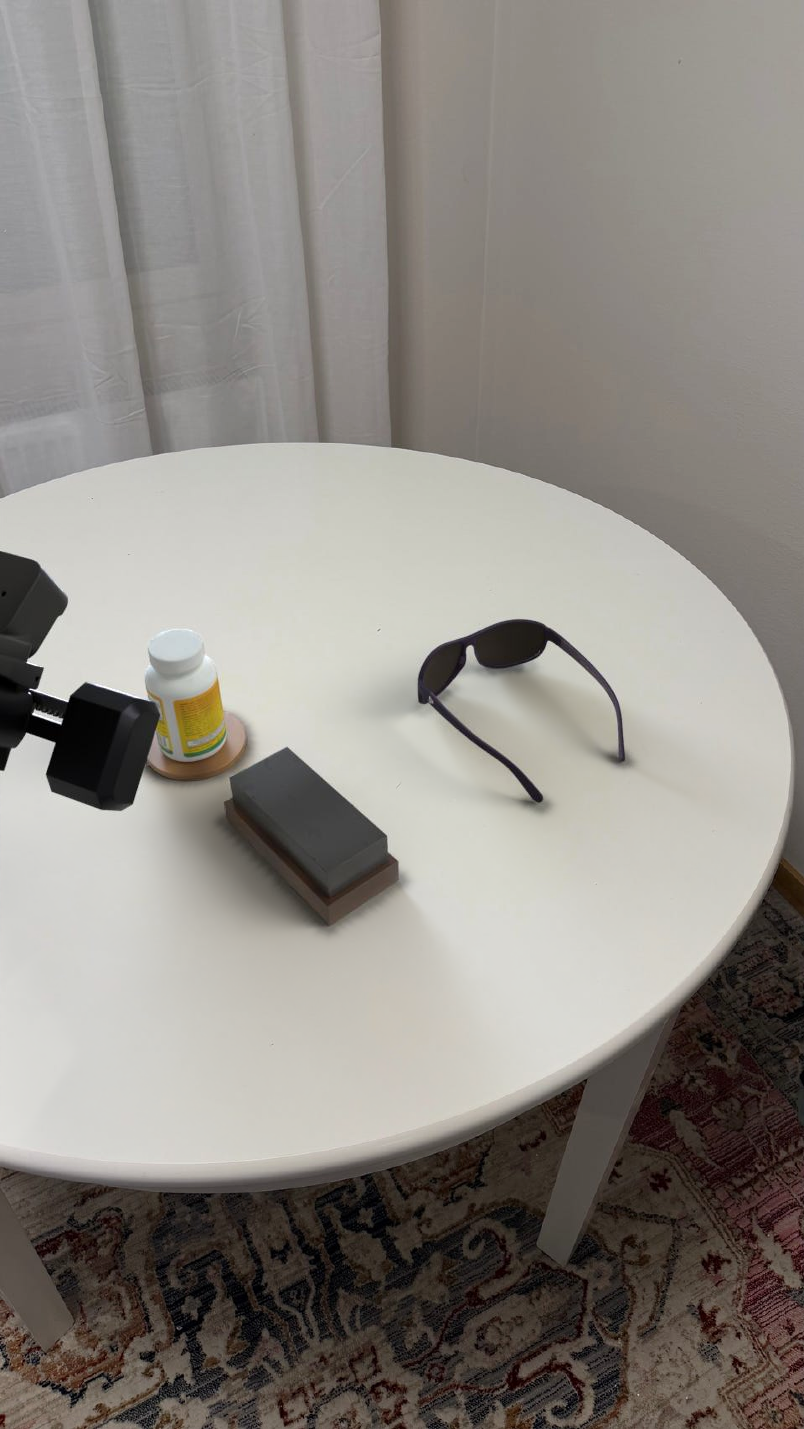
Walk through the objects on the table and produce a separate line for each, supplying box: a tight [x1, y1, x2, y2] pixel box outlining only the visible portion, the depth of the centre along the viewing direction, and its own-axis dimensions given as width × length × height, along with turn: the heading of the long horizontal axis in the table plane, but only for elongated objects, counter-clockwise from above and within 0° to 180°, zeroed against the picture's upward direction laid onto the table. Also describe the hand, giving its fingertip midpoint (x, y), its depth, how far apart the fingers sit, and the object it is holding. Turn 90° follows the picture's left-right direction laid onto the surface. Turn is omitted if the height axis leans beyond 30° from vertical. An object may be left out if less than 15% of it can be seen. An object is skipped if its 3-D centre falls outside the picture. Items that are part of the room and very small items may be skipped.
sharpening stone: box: [223, 746, 400, 926], centre depth 70 cm, size 13×6×4 cm, turn 40°
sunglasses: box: [417, 618, 626, 804], centre depth 80 cm, size 14×16×5 cm
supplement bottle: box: [144, 628, 227, 762], centre depth 77 cm, size 5×5×10 cm
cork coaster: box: [146, 710, 248, 782], centre depth 80 cm, size 8×8×1 cm
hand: (89, 727), depth 64 cm, fingers open, 9 cm apart
